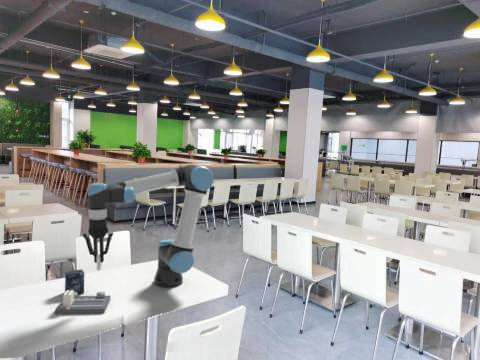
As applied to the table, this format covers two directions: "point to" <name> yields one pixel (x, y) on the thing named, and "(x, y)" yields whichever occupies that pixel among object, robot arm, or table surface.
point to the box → (74, 281)
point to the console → (85, 304)
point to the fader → (68, 298)
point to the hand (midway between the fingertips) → (99, 269)
